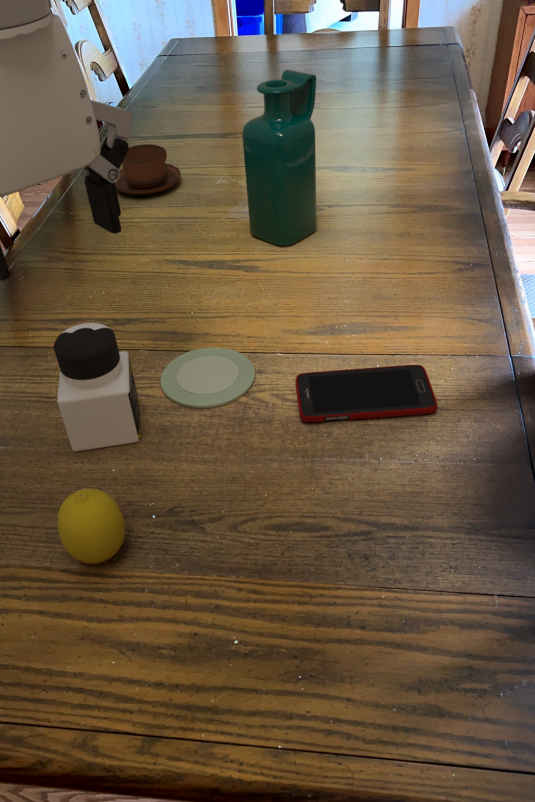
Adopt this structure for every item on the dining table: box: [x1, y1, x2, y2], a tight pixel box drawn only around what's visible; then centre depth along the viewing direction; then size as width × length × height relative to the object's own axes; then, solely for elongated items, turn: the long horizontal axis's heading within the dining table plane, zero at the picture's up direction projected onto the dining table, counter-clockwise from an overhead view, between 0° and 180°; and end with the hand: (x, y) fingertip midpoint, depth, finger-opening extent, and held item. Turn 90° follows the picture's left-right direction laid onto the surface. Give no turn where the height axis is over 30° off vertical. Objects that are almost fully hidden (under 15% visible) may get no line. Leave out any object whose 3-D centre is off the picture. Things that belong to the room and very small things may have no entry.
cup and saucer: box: [115, 143, 181, 196], centre depth 124 cm, size 12×12×6 cm
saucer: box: [159, 346, 256, 409], centre depth 83 cm, size 11×11×1 cm
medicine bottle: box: [53, 322, 142, 453], centre depth 74 cm, size 7×7×12 cm
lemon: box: [56, 488, 126, 565], centre depth 62 cm, size 6×6×8 cm
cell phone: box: [295, 364, 438, 423], centre depth 78 cm, size 8×15×1 cm, turn 93°
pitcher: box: [241, 69, 317, 247], centre depth 103 cm, size 10×8×22 cm
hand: (55, 249), depth 56 cm, fingers open, 9 cm apart
